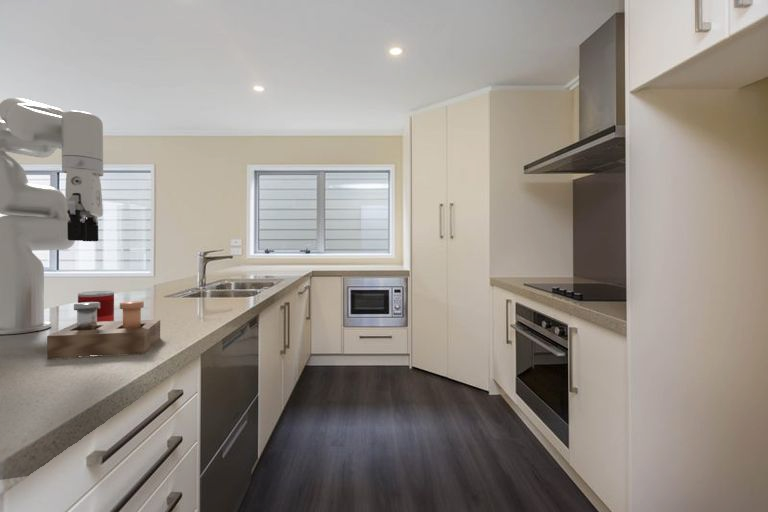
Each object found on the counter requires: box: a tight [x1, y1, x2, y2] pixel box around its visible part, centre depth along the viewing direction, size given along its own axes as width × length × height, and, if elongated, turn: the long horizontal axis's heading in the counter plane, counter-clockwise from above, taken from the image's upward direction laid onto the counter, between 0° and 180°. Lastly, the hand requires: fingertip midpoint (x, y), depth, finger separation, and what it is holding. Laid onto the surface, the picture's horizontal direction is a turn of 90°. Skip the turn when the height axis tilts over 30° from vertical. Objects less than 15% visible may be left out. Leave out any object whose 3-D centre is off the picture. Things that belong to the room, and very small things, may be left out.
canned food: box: [77, 290, 115, 322], centre depth 103 cm, size 8×8×11 cm
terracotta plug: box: [119, 300, 145, 329], centre depth 90 cm, size 5×5×7 cm
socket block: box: [46, 319, 161, 360], centre depth 88 cm, size 18×14×5 cm
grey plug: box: [73, 302, 100, 330], centre depth 87 cm, size 5×5×7 cm
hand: (84, 240), depth 87 cm, fingers open, 9 cm apart
